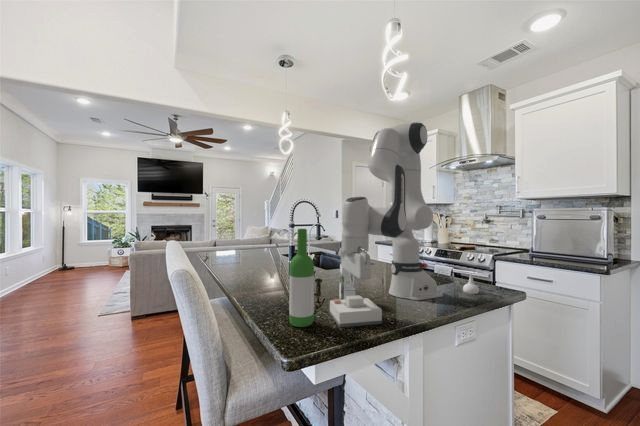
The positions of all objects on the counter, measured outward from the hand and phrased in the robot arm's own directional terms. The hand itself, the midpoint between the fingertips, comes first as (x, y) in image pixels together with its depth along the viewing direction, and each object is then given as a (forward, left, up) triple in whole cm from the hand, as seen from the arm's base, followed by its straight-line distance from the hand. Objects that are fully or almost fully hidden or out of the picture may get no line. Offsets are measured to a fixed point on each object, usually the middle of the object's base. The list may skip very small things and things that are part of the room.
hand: (354, 287), depth 94 cm
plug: (0, 0, -10) cm, 10 cm away
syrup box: (-3, -17, -11) cm, 20 cm away
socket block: (0, 0, -11) cm, 11 cm away
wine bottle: (+18, +1, -11) cm, 21 cm away
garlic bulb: (-61, -19, -11) cm, 65 cm away
